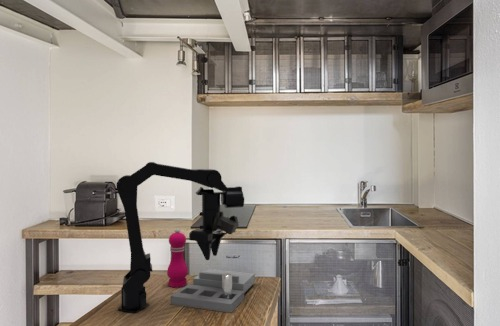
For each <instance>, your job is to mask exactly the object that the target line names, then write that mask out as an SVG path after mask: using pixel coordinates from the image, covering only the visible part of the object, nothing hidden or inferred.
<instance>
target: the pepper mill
mask: <svg viewBox="0 0 500 326" xmlns="http://www.w3.org/2000/svg"><path fill="white" fill-rule="evenodd" d="M186 242H187V238H186V236H185V234H184V233H183V232H181V229H180V228H179V227H178V228H175V230H174V232H173V233H171V234H170V236H169V237H168V243H169V245H170V247H169V248H170V249H169V250H170V252H171V257H170V262H169V264H168V267H167V271H166V272H167V273H166V275H167V277H168V278H169V279H168V286H169V287H171V288H183V287H185V286H186V285H188V284H187V282H188V281H187V278H186V277H187V276H188V273H189V269H188V266H187V263H186V261H185V259H184V252H185V244H186Z"/></svg>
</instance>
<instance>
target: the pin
mask: <svg viewBox="0 0 500 326" xmlns="http://www.w3.org/2000/svg"><path fill="white" fill-rule="evenodd" d="M222 298H223V299H232V274H230V273H225V274H222Z"/></svg>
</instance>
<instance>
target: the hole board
mask: <svg viewBox="0 0 500 326" xmlns="http://www.w3.org/2000/svg"><path fill="white" fill-rule="evenodd" d="M244 300H245V293H244V291H239V290H232V299H223V298H222V288H215V287H207V286H198V285H193V284H189V283H188V284H186V285H185V286H183V287H181V288H180V289H179V290H177V291H175V292H174V293H173V294H171V295H170V305H174V306H180V307H182V306H183V307H189V308H195V309H203V310H208V311H215V312H222V313H230V314H231V313H232V312H233V311H234V310H235V309H236V308H237V307H238V306H239V305H241V303H242V302H243V301H244Z"/></svg>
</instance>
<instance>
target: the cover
mask: <svg viewBox="0 0 500 326" xmlns="http://www.w3.org/2000/svg"><path fill="white" fill-rule="evenodd" d="M225 273H230V274H232V290H239V291H244V294H245V293H246V292H248V290H249V289H250V288H251V287H252V286H253V285H254V284H255V283H256V281H255V280H256V279H255V276H256V274H255V273H251V272H241V271H234V270H233V271H232V270H223V269H214V268H207V269H206V270H203V271H199V273H198V275H196V276H194V277H193V278H192V285H198V286H207V287H215V288H222V274H225Z"/></svg>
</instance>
